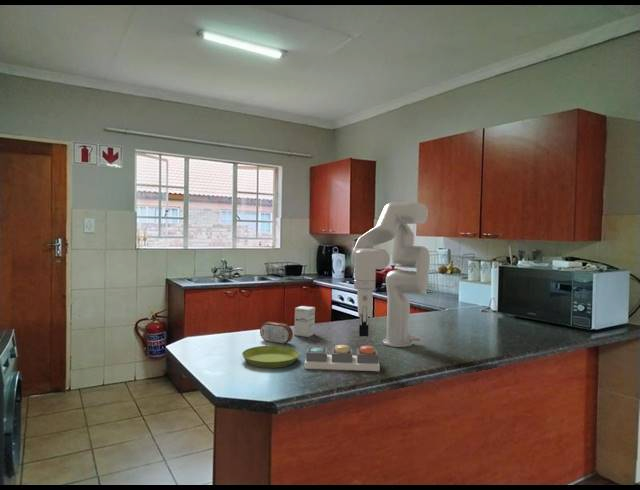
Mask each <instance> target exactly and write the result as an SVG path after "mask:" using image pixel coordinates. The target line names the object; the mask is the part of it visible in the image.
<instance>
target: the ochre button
mask: <svg viewBox="0 0 640 490" xmlns="http://www.w3.org/2000/svg"><path fill="white" fill-rule="evenodd" d="M334 348H335V353H348V354H349V349H350V346H349V345H347V344H337V345H335V347H334Z"/></svg>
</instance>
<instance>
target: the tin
mask: <svg viewBox="0 0 640 490" xmlns="http://www.w3.org/2000/svg"><path fill="white" fill-rule="evenodd" d="M293 332H294V331H293V329H292V328H291V325H288V324H287V323H282V322H274V321H267V322H264V323H263V324H262V325H261V326H260V328H259V334H260V337H261V339H262V340H263V341H265V342H268V343H274V344H281V345H286V344H288V343H289V342H291V340H292V339H293V337H294V333H293Z"/></svg>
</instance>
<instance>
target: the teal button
mask: <svg viewBox="0 0 640 490" xmlns="http://www.w3.org/2000/svg"><path fill="white" fill-rule="evenodd" d="M321 348H322V347H316V348H312V349H310V352H318V353H324V349H321Z"/></svg>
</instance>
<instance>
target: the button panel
mask: <svg viewBox="0 0 640 490" xmlns="http://www.w3.org/2000/svg"><path fill="white" fill-rule="evenodd" d="M312 348H317V347H316V346H315V347H313V346H311V347H309V346H308V347H307V348H306V355H305V360H304V364H303V365H304V368H303V369H308V370H310V369H311V370H313V369H314V370H334V371H335V370H336V371H337V370H339V371H340V370H341V371H364V372H365V371H366V372H367V371H368V372H369V371H370V372H380V370H381V369H380V368H381V365H380V361H379V353H378V349H376V348H374V354H360V348H356V354H355V355H353V348H349V354H348V353H335V347H332V348H331V354H328V347H320V348H321V349H324V353H318V352H310V349H312Z"/></svg>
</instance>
